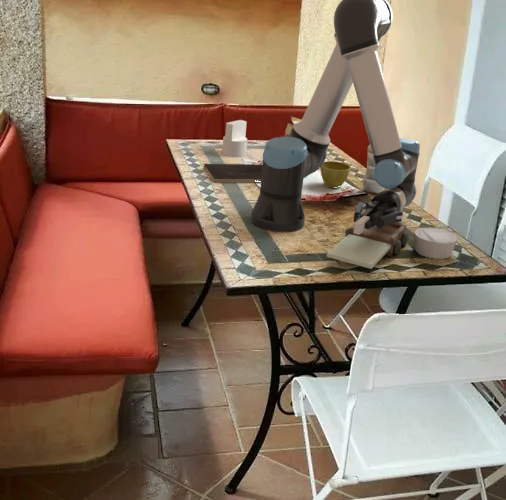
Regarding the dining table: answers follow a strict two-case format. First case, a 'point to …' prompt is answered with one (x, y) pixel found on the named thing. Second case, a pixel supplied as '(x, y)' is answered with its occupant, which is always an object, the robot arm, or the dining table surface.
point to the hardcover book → (234, 172)
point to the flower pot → (334, 173)
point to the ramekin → (434, 242)
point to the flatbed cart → (385, 236)
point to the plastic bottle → (370, 175)
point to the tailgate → (359, 251)
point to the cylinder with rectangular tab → (235, 139)
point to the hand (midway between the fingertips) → (357, 228)
